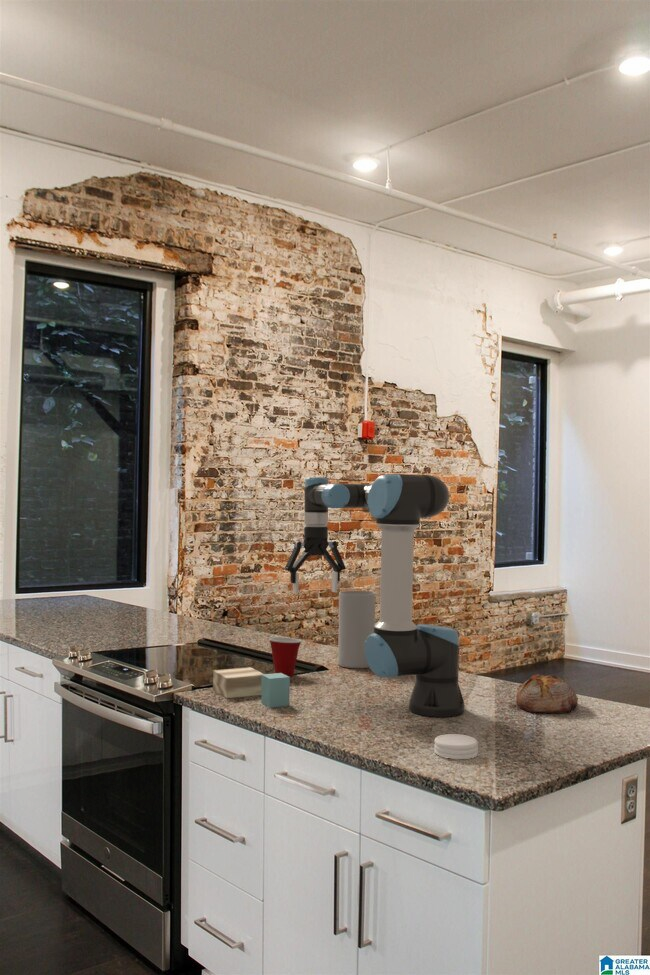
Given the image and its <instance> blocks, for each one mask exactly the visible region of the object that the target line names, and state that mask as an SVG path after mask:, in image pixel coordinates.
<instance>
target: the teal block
mask: <svg viewBox="0 0 650 975" xmlns="http://www.w3.org/2000/svg"><path fill="white" fill-rule="evenodd" d="M290 678H291V676H290V677H289V676H287V675H284V674H282V673H275V672H274V673H266V674H265V673H263V675H262V678H261V695H260V703H261V704H262V705H264V706H265V707H268V708H269V709H270V708H272V709H273V708H278V707H280V708H281V707H287V706H288V707H289V706H290V686H291V684H290V680H291V679H290Z"/></svg>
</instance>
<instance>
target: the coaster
mask: <svg viewBox="0 0 650 975" xmlns="http://www.w3.org/2000/svg"><path fill="white" fill-rule="evenodd" d="M478 745H479V741H478V739H476V737H475V738H474V736H473V737H472V736H470V735H465V734H461V733H460V734H459V733H447V734H446V733H445V734H441V735H438V736H436V737H435V738H434V746H433V747H434V749H433V750H434V751H433V752H434V754H435V753H436V754H437V755H439V756H442V757H448V758H453V759H469V760H471V759H470V758H473V759H475V758H477V757H478V754H479V752H478V750H479V747H478ZM436 754H435V755H436ZM437 755H436V756H437ZM439 756H438V757H439ZM442 757H441V758H442ZM474 757H475V758H474Z"/></svg>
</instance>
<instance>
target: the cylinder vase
mask: <svg viewBox="0 0 650 975" xmlns="http://www.w3.org/2000/svg"><path fill="white" fill-rule="evenodd" d="M375 624H376V592H375V591H369V590H343V591H339V592H338V637H337V638H338V639H337V640H338V644H337V645H338V647H337V648H338V649H337V650H338V651H337V653H338V654H337V657H338V658H337V662H338V663H337V664H338V666H340V667H341V668H347V669H368V668H369V669H370V667H369V665H368V663H367V660H366V656H365V641H366V640H367V639H366V638H367V637H368V636H369V635H371V634H373V633H374V625H375Z"/></svg>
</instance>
